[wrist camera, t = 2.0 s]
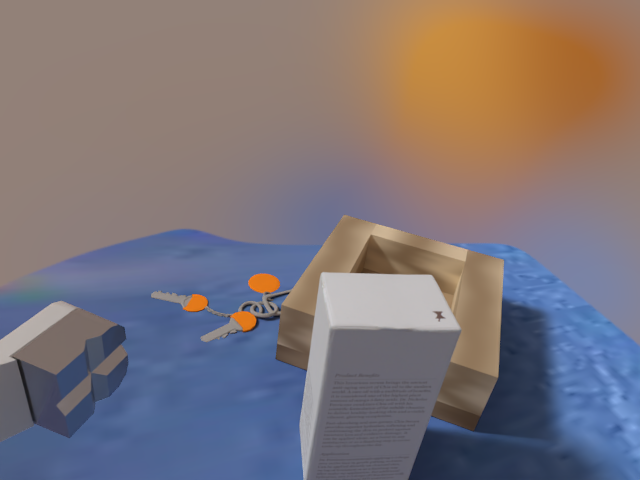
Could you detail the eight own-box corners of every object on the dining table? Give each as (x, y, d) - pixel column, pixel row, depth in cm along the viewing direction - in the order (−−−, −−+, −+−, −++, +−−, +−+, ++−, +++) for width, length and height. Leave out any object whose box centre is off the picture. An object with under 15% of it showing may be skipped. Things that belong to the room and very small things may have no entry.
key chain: (294, 269, 44) (295, 261, 44) (328, 321, 39) (329, 313, 39) (149, 292, 39) (148, 284, 39) (164, 356, 34) (163, 347, 33)
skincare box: (389, 423, 31) (436, 272, 25) (407, 487, 28) (467, 330, 21) (295, 424, 30) (319, 268, 24) (301, 491, 27) (330, 328, 20)
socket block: (485, 306, 43) (503, 260, 40) (473, 431, 31) (498, 377, 29) (336, 260, 46) (344, 214, 43) (275, 358, 34) (281, 304, 32)
